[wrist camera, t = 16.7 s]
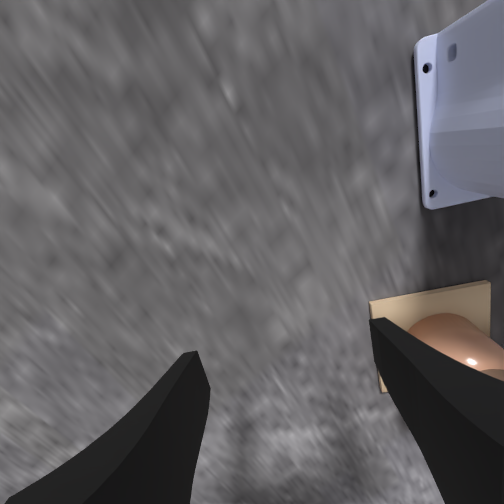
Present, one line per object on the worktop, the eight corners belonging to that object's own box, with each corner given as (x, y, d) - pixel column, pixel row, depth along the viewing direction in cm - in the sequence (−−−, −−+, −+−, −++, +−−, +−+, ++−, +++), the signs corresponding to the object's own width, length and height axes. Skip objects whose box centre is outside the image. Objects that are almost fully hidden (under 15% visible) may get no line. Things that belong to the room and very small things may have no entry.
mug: (397, 320, 22) (435, 369, 17) (479, 306, 21) (542, 353, 16) (405, 412, 24) (439, 477, 20) (478, 402, 24) (531, 467, 19)
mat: (368, 301, 22) (371, 305, 21) (485, 279, 21) (490, 282, 20) (380, 387, 24) (382, 392, 24) (484, 371, 23) (489, 376, 23)
